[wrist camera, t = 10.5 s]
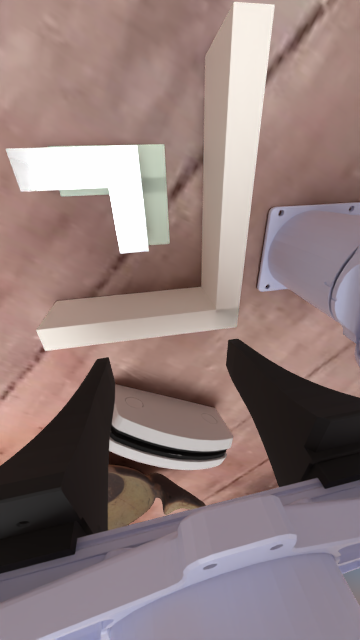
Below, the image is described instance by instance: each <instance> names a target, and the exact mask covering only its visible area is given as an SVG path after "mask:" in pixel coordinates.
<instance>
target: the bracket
mask: <svg viewBox="0 0 360 640" xmlns="http://www.w3.org/2000/svg"><path fill="white" fill-rule="evenodd" d="M6 151H7V154H8V157H9V160H10V162H11V165H12V168H13V171H14V174H15V176H16V179H17V182H18V185H19V188H20V190H21V192H22V191H44V190H65V189H87V188H109V193H110V198H111V204H112V210H113V215H114V221H115V227H116V232H117V238H118V244H119V249H120V253H132V252H144V251H149V249H148V240H147V231H146V222H145V213H144V204H143V195H142V186H141V177H140V168H139V159H138V150H137V145H136V146H95V147H54V148H12V149H6Z"/></svg>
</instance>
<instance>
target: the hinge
mask: <svg viewBox="0 0 360 640" xmlns="http://www.w3.org/2000/svg"><path fill="white" fill-rule="evenodd" d="M232 440H233V435H232V433H231V431H230V430H229V428H228V427H227V425H226V424H225V422H224V421H223V419H222V418H221V416H220V415H219V413H218V412H217V410H216V408H213V407H209V406H205V405H201V404H197V403H192V402H188V401H184V400H180V399H176V398H172V397H167V396H163V395H159V394H155V393H151V392H146V391H142V390H138V389H134V388H130V387H125V386H121V385H117V384H115V404H114V411H113V419H112V426H111V433H110V442H109V451H110V452H113V453H115V454H118V455H120V456H123V457H125V458H128V459H131V460H134V461H137V462H141V463H145V464H148V465H153V466H157V467H162V468H169V469H179V470H199V469H207V468H211V467H215V466H218V465H220V464H221V463H222V462H223V460H224V459H225V458H226V456H227V454H226V450H227V449H228V448H230V447H231V444H232Z"/></svg>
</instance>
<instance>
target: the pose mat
mask: <svg viewBox="0 0 360 640" xmlns="http://www.w3.org/2000/svg"><path fill="white" fill-rule="evenodd" d="M95 146H136V145H90V146H48V148H54V147H95ZM137 150H138V159H139V168H140V177H141V186H142V195H143V204H144V213H145V222H146V231H147V240H148V245H159V244H170V239H169V221H168V203H167V185H166V167H165V150H164V144H150V145H137ZM60 194H61V196H83V195H106V194H110V193H109V188H87V189H65V190H60Z"/></svg>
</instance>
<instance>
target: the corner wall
mask: <svg viewBox="0 0 360 640" xmlns="http://www.w3.org/2000/svg"><path fill="white" fill-rule="evenodd" d="M274 6H275V5H272V4H257V3H241V2H234V3H233V4H232V6H231V8H230V10H229V12H228V14H227V16H226V18H225V20H224V21H223V23H222V25H221V27H220V29H219V31H218V33H217V35H216V37H215V38H214V40H213V42H212V44H211V46H210V48H209V50H208V52H207V53H206V55H205V95H204V154H203V212H202V271H201V287H193V288H183V289H173V290H163V291H153V292H143V293H132V294H122V295H112V296H102V297H92V298H82V299H72V300H61V301H56V302H55V304H54V305H53V306H52V308H51V309H50V311H49V312H48V314H47V315H46V316H45V318H44V319H43V321H42V322H41V324H40V325H39V327H38V328H37V329H36V331H37V333H38V335H39V338H40V340H41V342H42V344H43V347H44V349H45V351H48V350H56V349H64V348H72V347H81V346H89V345H97V344H105V343H113V342H121V341H129V340H137V339H145V338H153V337H161V336H169V335H177V334H185V333H193V332H201V331H209V330H217V329H225V328H233V327H237V321H238V312H239V304H240V295H241V287H242V278H243V270H244V261H245V253H246V244H247V236H248V227H249V219H250V210H251V202H252V193H253V185H254V176H255V168H256V159H257V151H258V142H259V134H260V125H261V117H262V108H263V100H264V91H265V83H266V74H267V66H268V57H269V49H270V40H271V32H272V23H273V15H274Z"/></svg>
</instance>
